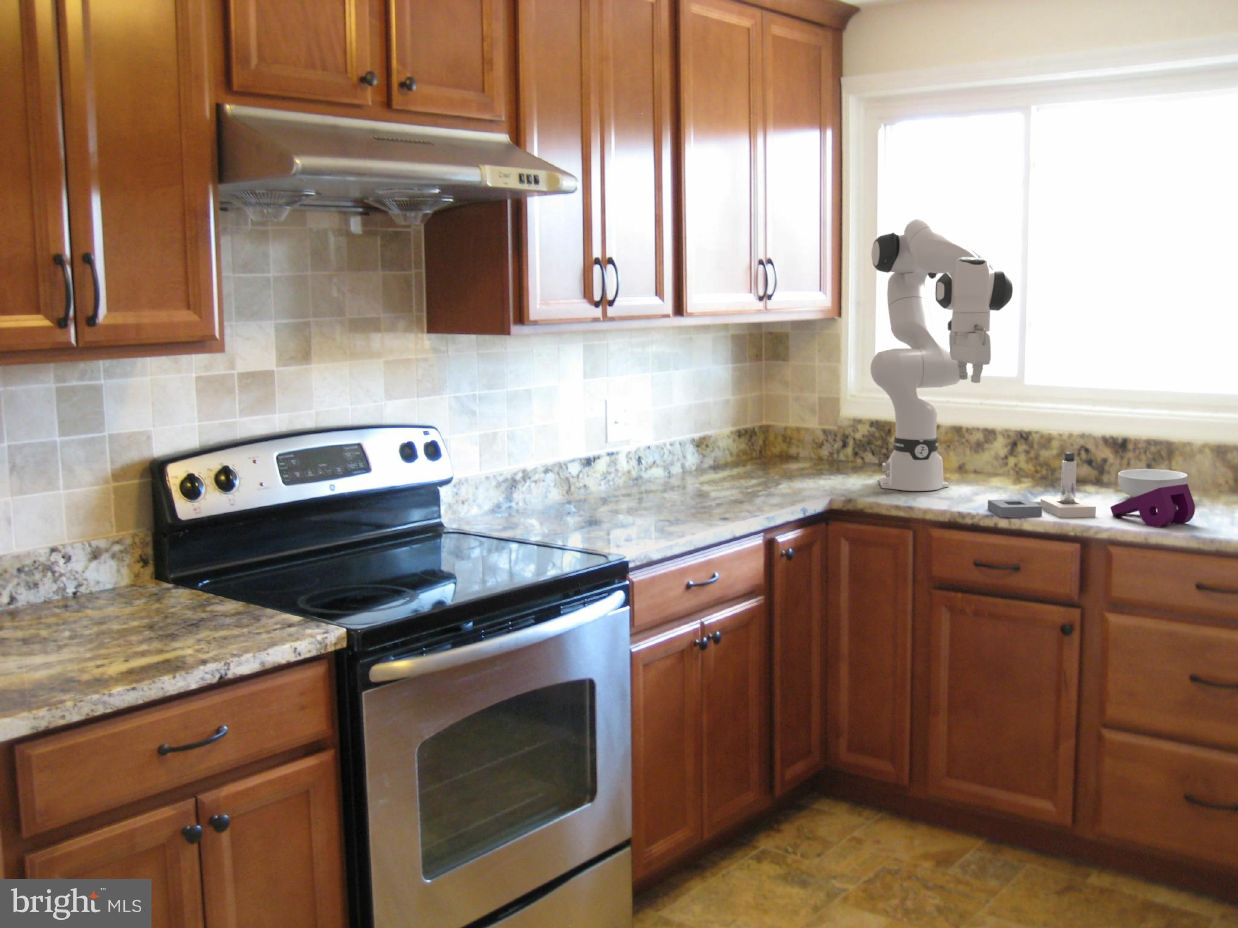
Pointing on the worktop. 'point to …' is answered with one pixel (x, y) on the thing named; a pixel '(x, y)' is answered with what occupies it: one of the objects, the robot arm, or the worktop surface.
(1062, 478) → the capped cylinder peg
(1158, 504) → the mounting bracket
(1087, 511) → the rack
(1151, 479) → the cereal bowl
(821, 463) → the worktop surface
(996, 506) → the socket
